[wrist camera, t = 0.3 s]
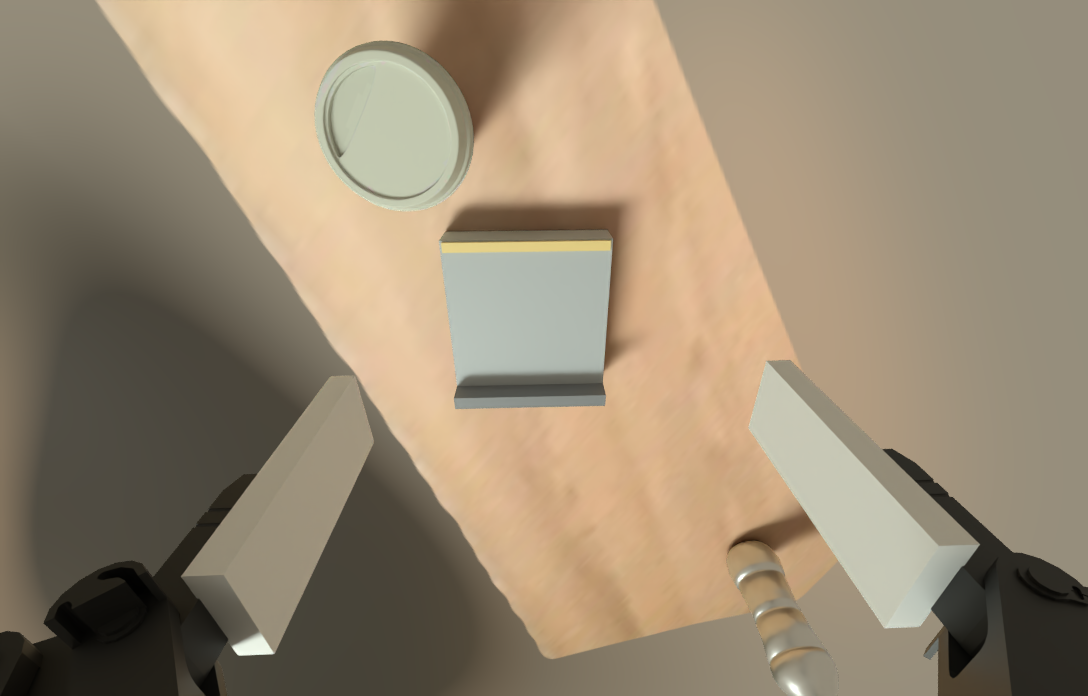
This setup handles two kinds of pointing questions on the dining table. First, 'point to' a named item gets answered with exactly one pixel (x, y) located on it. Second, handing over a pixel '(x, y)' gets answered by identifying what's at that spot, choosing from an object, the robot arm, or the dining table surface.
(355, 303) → the dining table surface
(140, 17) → the dining table surface
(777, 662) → the plastic bottle
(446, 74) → the coffee cup
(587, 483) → the dining table surface
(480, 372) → the plate
